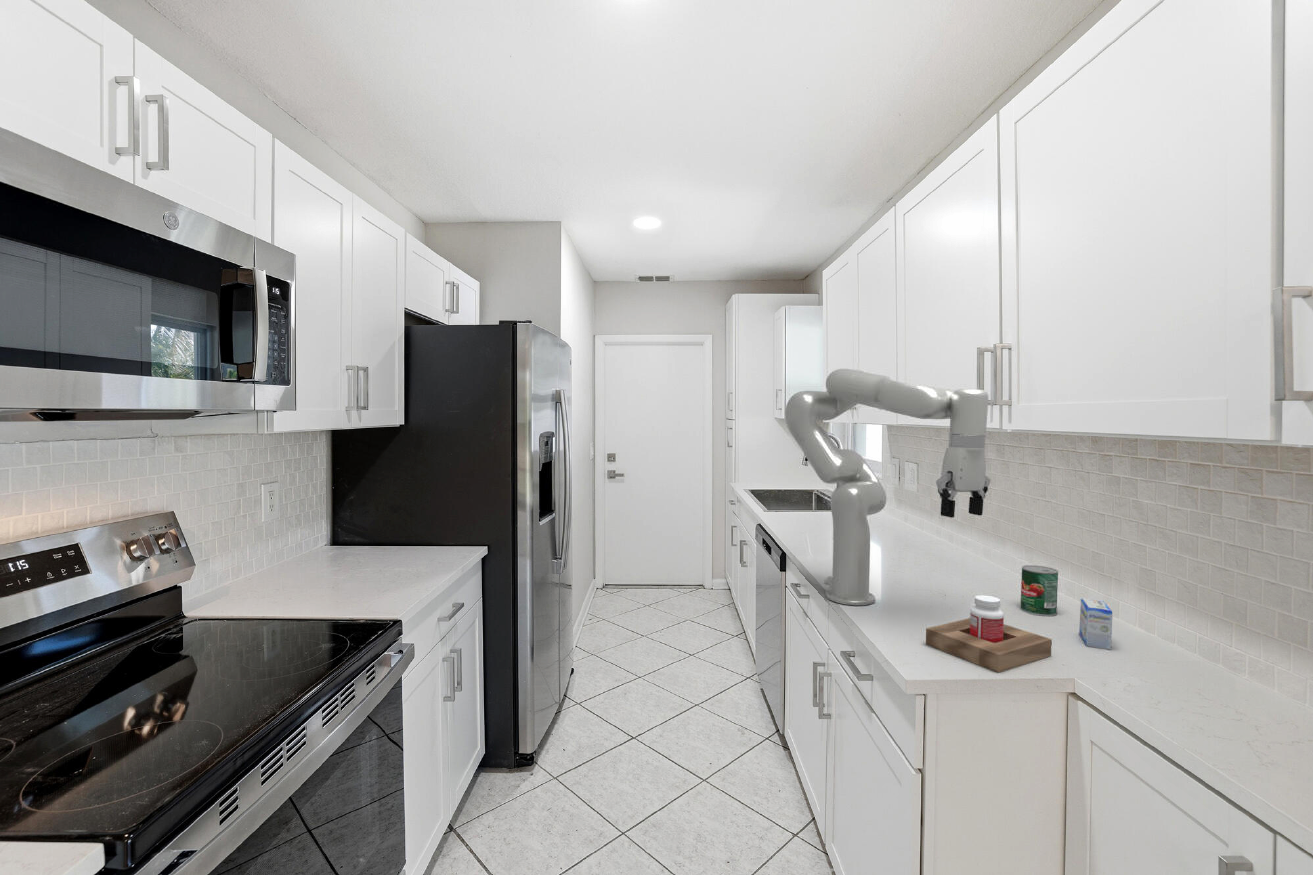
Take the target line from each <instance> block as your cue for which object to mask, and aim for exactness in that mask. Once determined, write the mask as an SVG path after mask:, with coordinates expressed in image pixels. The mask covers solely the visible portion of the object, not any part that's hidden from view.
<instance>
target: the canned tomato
mask: <svg viewBox="0 0 1313 875" xmlns="http://www.w3.org/2000/svg"><path fill="white" fill-rule="evenodd" d="M1058 582H1059V570H1058V569H1056V568H1054V567H1049V566H1044V565H1035V564H1034V565H1031V564H1027V565H1022V566H1021V582H1020V583H1021V584H1020V587H1021V588H1020V607H1019V608H1020V610H1021V611H1022V612H1024V613H1026V614H1030V615H1036V616H1042V617H1055V616H1057V614H1058V613H1057V612H1058V611H1057V610H1058V609H1057V608H1058V589H1059V588H1058V586H1059V584H1058Z"/></svg>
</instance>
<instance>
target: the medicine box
mask: <svg viewBox="0 0 1313 875" xmlns="http://www.w3.org/2000/svg"><path fill="white" fill-rule="evenodd" d="M1079 611H1080V612H1079V630H1078V634H1079V636H1080V638H1081V639H1082V641H1083V642H1084V644H1085V646H1087V647H1089V648H1093V649H1094V648H1095V649H1100V648H1101V649H1102V650H1111V649H1112V637H1113V636H1112V632H1113V610H1112V609H1111V608H1110V607H1109V606H1108V605H1107V603H1106V602H1105V601H1104V600H1100V599H1093V598H1085V597H1082V598H1081V599H1080V610H1079ZM1101 649H1100V650H1101Z"/></svg>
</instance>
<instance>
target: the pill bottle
mask: <svg viewBox="0 0 1313 875" xmlns="http://www.w3.org/2000/svg"><path fill="white" fill-rule="evenodd" d="M974 604H975V605H974V606H972V607H971V608H970V614H969V615H970V617H969V618H970V635H972V636H975V637H978V638H981V639H983V640H986V641H989V642H992V643H997V642H1001V641H1003V625H1004V621H1005V620H1004V618H1005V617H1004V615H1005V614H1004V612H1003V611H1002V610H1001V609H1000V606H1001V599H1000V598H998V597H996V596H995V597H994V596H991V595H981V594H980V595H975V596H974Z"/></svg>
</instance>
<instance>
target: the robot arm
mask: <svg viewBox="0 0 1313 875" xmlns="http://www.w3.org/2000/svg"><path fill="white" fill-rule="evenodd" d="M825 389H826V391H821V390H820V391H819V390H801V391H798V392H796V393H794V394H793V395H792V396H790V398H789V399H788V401H787V403H786V406H785V411H784V418H785V419H784V420H785V424H786V427H787V429H788V431H789V433H790V435H791V436H792V437H793V439H794V441H795V442H796V443H797V445H798V446H799V448H800V449H801V451H802V452H803V455H804V456H805V458H806V459H807V461H808V462H809V464H810V466H811V467H812V469H813V470H814V472H815V473H816V475H817V476H818V478H819V479H820V481H822V482H824V483H825V484H829V485H830V484H831V485H832V484H840V485H838V486H837V487H836V488H835V489H834V490H833V491H832V493H831V496H830V500H829V502H830V511H831V517H832V529H833V530H832V532H833V533H832V534H833V535H832V536H833V537H832V541H833V542H832V546H833V547H832V576H831V575H829V576H827V577H826V578H825V579H824V580H823V584H824V585H827V586H829V589H828V590H827V591H826V592H825V596H826V598H827V599H828V600H830V601H832V602H834V603H838V604H842V605H847V606H869V605H873V604H874V603H875V601H876V596H875V595H874V594H873V593H871V592H870V572H871V571H870V569H871V568H870V566H871V565H870V564H871V563H870V562H871V530H870V525H869V522H868V516H871V515H876V514H878V513H879V512H881V511H882V510H884V508H885V506H886V504H887V493H886V490H885V488H884V486H883V485H882V483H881V481H880V480H879V479H878V477H877V476H876V474H875V473H874V472H873V470H872V469H871V467H870V465H869V464H868V463H867V461H866V460H865V459H864V457H863V456H862V455H861V454H860V453H858V452H857V451H855V450H852V449H850V448H849V449H848V448H843V449H842V448H839V447H838V446H837V445H836V444H835V442H834V441H833V440H832V438H831V436H830V435H829V433H828V432H827V431H826V430H825V429H824V428H823V426H821V425H820V424H818V422H819V421H822V422H823V421H824V422H825V421H831V420H834V419H836V418H838V417H839V416H841V415H843V414H844V413H846V412H847V411H849V410H851V409H852V408H854V407H855V406H857V405H858V404H859V405H864V406H867V407H872V408H875V409H879V410H881V411H882V410H883V411H886V412H891V413H894V414H899V415H903V416H906V417H911V418H915V419H920V420H949V431H948V432H949V434H948V445H947V446H948V447H946V448H945V452H944V456H943V459H942V465H941V471H940V472H941V473H940V477H939V478H938V479H936V481H935V483H936V487H937V493H938V494H939V498H940V499H941V500H940V516H942V517H946V518H951V519H952V518H954V517H955V511H956V500H954V499H955V498H956V495H957V494H958V493H961V492H962V493H967V492H969V493H970V495H971V496H969V501H968V502H969V503H968V514H971V515H974V516H983V512H984V500H985V499H986V493H987V492H988V490H989V486H990V484H991V479H990V478H989V477H988V476H987V475H986V474H987V473H986V471H987V468H986V467H987V466H986V463H987V462H986V437H987V436H986V435H987V424H988V423H987V421H988V412H989V394H988V392H987V391H986V390H984V389H979V388H978V389H972V388H961V389H949V388H939V387H934V386H931V387H930V386H922V385H916V384H911V383H906V382H900V381H896V380H894V379H893V380H892V379H891V378H890V377H889V376H887V375H881V374H875V373H871V372H870V373H869V372H864V371H863V370H858V369H849V368H838V369H835V370H833V371H832V372H831V373H829V374H828V376H827V377H826V380H825ZM817 421H818V422H817Z"/></svg>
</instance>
